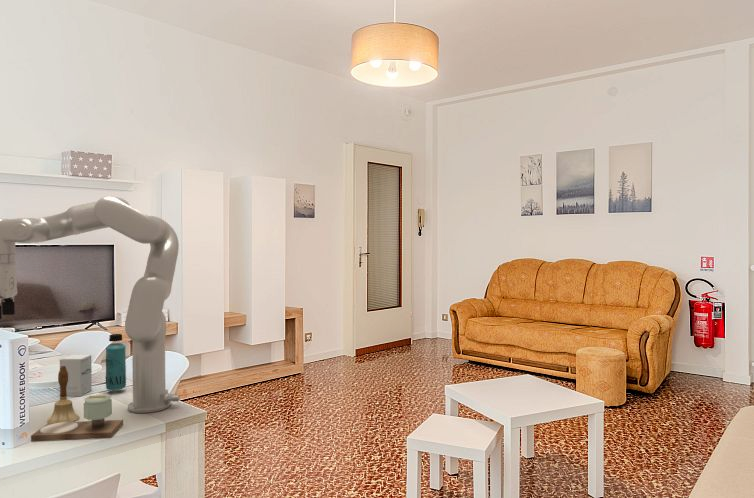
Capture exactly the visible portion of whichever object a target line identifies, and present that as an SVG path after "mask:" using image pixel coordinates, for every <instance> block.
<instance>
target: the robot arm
mask: <svg viewBox="0 0 754 498" xmlns="http://www.w3.org/2000/svg"><path fill="white" fill-rule="evenodd" d="M106 228H110V229H112V230H114V231H115V232H118V233H119V234H122V235H123V236H125V237H127V238H128V239H131V240H133V241H134V242H137V243H140V244H149V245H150V246H149V247H150V250H149V253H148V257H147V262H146V265H145V271H144V274H143V275H142V277H140V278H139V279H138V280H137V281H136V282H135V284H134V286H133V287H132V291H131V295H130V299H129V304H128V308H127V312H126V316H125V321H124V331H125V334H126V336H127V337H128V339H130V340H131V341H132V358H131V359H132V401H131V402H130V403H129V404H128V405H127V410H128V411H129V412H131V413H135V414H139V413H140V414H146V413H147V414H148V413H155V412H159V411H162V410H166V409H168V408H170V406H171V405H172V402H179V401H180V399H181V398H180V394H178V393H170V392H169V389H166V336H167V319H166V315H165V314H164V312H163V309H164V303H165V301H166V300H167V299H168V298H169V297H170V295H171V292H172V287H173V281H174V275H175V272H176V267H177V260H178V255H179V247H180V244H179V237H178V235H177V233H176V231H175V230H174V228H173V227H172V226H171V225H170V224H169V223H168V222H167V221H166V220H164V219H163V218H160V217H159V216H154V215H148V214H146V213H144V212H142V211H141V210H139V209H136V208H134V207H133V206H131V205H130V204H129V202H128V201H127V200H125V199H124V198H122V197H118V196H114V195H111V196H109V195H108V196H103V197H101V198H100V199H98V200H97V201H92V202H87V203H82V204H78V205H73V206H70V207H69V208H68V209H67V210H65V211H64V212H63V211H62V212H61V213H58V214H53V215H48V216H43V217H37V218H36V217H35V218H33V217H19V218H12V219H11V218H10V219H9V218H0V304H1V305H0V320H2V319H3V316H10V315H11V316H12V315H15V313H16V312H15V311H16V310H15V307H16V306H15V296H17V295H18V283H17V272H16V271H17V270H16V265H17V263H16V261H17V259H16V257H17V256H16V243H17V244H18V243H19V244H31V243H33V244H34V243H35V244H36V243H43V242H49V241H52V240H57V239H62V238H65V237H70V236H77V235H80V234H84V233H89V232H93V231H97V230H102V229H106Z"/></svg>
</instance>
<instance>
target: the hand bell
mask: <svg viewBox="0 0 754 498" xmlns="http://www.w3.org/2000/svg"><path fill="white" fill-rule="evenodd" d="M57 376H58V377H57V380H58V385H59V400H57V401H56V402H55V403H54V408H53V411H52V415H50V417H49V418H48V419H47V421H46V424H47V423H55V422H78V420H79V419H80V415H78V413H76V411H75V410H74V406H73V401H72V400H70V399H69V398H68V396H67V391H66V386H67V383H68V372H67V369H66V366H61V367H60V366H59V371H58V374H57Z"/></svg>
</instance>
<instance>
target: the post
mask: <svg viewBox="0 0 754 498" xmlns="http://www.w3.org/2000/svg"><path fill="white" fill-rule="evenodd" d="M90 421H92V428H93V429H97V428H102V427H104V426H105V418H103V419H98V420H90Z"/></svg>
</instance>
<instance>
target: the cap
mask: <svg viewBox="0 0 754 498" xmlns="http://www.w3.org/2000/svg"><path fill="white" fill-rule="evenodd" d="M111 398H112V397H111V395H110V394H106V393H105V394H93V395H88V396H87V397H85V398H84V402H83V419H85V420H87V421H91V420H98V419H103V418H104V419H106V418H109V417H110V416H111V415H112V414H113V406H112V405H113V402H112V399H111Z"/></svg>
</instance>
